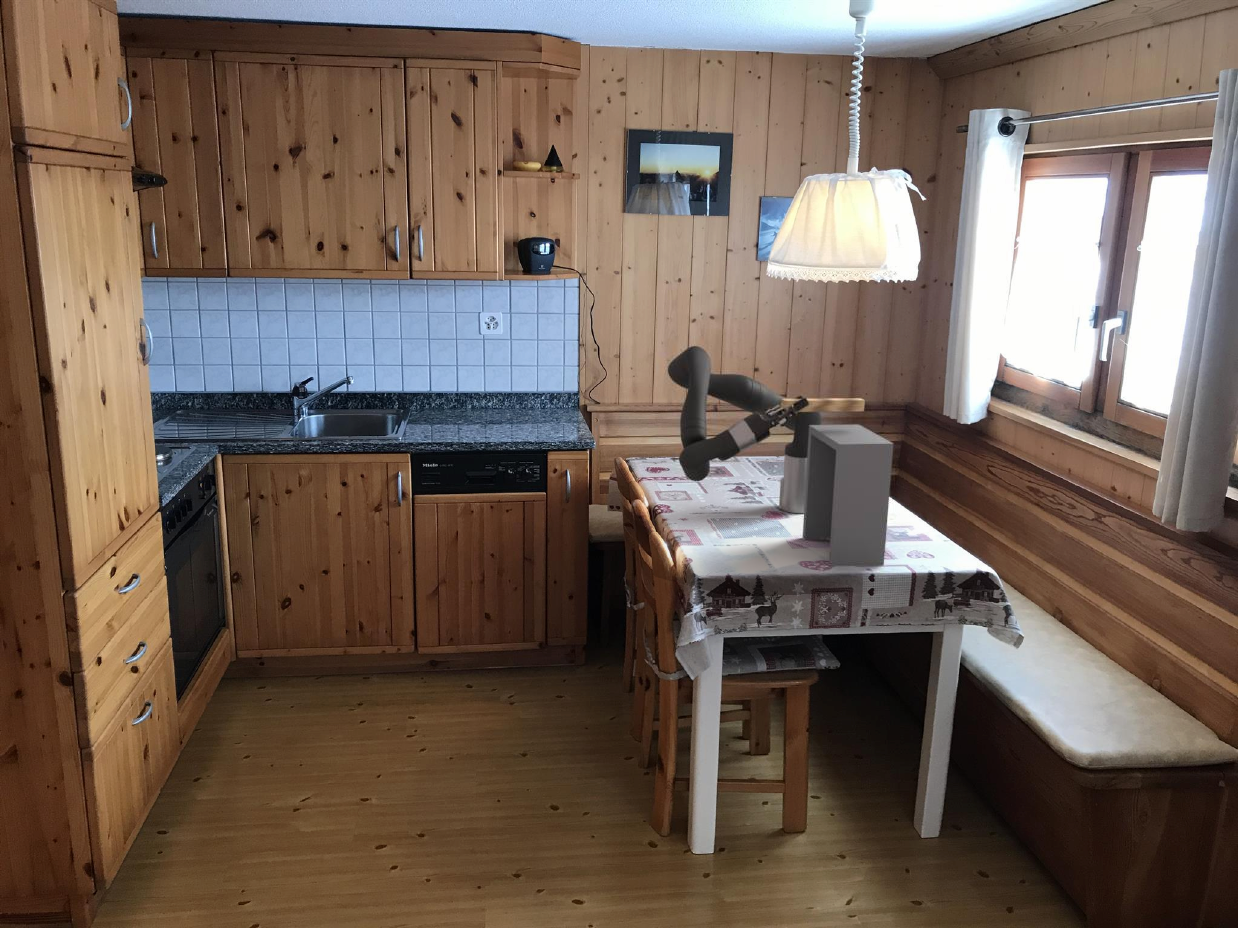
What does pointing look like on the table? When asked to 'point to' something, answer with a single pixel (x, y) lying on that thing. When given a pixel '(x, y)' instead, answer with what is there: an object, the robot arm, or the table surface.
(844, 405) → the wooden rod
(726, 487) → the table surface
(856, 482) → the gray shelf
